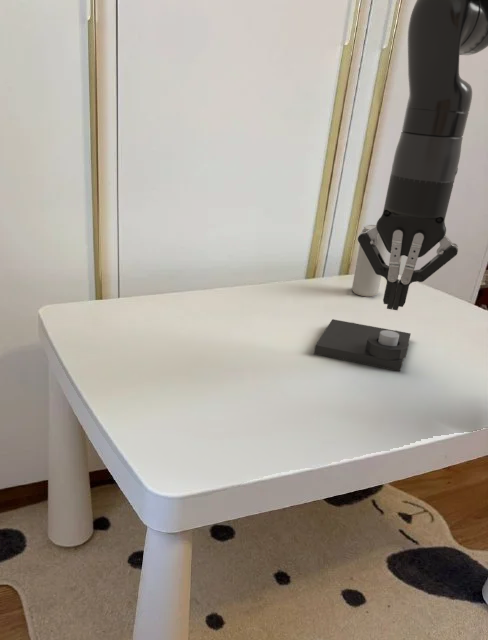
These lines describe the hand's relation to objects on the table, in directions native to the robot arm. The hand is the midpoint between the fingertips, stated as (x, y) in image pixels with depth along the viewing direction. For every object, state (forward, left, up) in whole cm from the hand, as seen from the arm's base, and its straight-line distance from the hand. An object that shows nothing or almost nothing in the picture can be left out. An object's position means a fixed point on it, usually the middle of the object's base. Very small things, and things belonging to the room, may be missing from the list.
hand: (392, 308), depth 86 cm
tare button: (0, -1, -5) cm, 5 cm away
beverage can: (+7, -31, -8) cm, 33 cm away
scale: (+3, -4, -8) cm, 10 cm away
